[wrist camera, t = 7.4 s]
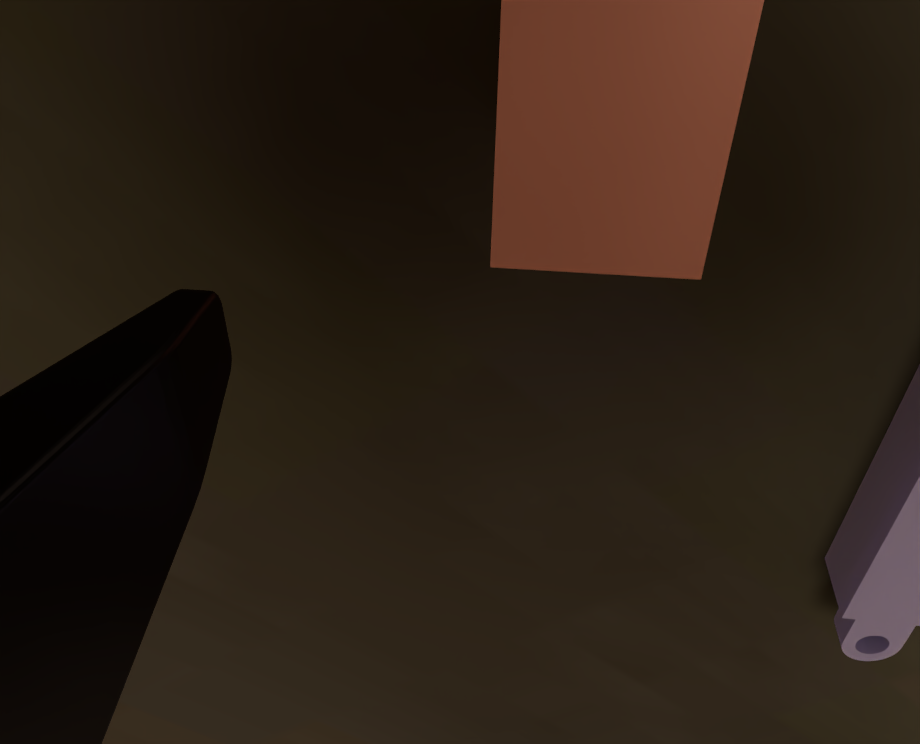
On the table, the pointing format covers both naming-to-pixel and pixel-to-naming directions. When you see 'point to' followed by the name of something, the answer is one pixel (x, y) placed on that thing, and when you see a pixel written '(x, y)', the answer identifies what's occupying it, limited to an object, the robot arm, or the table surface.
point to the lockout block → (615, 131)
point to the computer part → (882, 544)
